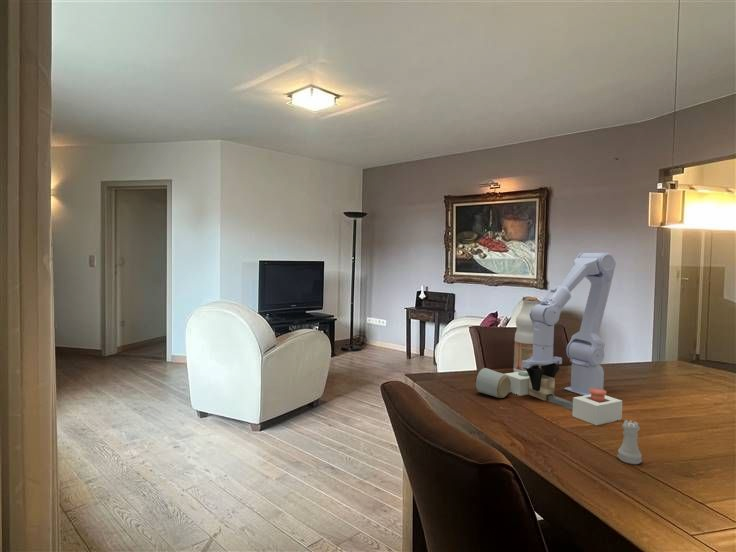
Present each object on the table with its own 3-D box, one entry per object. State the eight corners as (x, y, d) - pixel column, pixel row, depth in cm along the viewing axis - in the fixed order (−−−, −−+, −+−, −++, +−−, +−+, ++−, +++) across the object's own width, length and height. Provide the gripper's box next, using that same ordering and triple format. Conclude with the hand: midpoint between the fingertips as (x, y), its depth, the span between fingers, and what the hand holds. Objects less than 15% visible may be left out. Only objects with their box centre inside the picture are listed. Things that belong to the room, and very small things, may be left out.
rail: (534, 393, 135) (534, 388, 135) (586, 412, 119) (586, 407, 119) (530, 394, 134) (530, 389, 134) (581, 413, 118) (581, 408, 118)
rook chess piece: (612, 455, 93) (613, 418, 93) (632, 455, 93) (633, 418, 93) (626, 465, 89) (628, 426, 88) (647, 465, 89) (649, 426, 89)
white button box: (526, 385, 143) (526, 368, 143) (543, 391, 137) (543, 374, 137) (503, 389, 139) (503, 371, 139) (519, 395, 133) (520, 377, 132)
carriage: (538, 392, 135) (538, 373, 135) (554, 398, 130) (554, 378, 130) (528, 394, 133) (529, 374, 133) (544, 400, 128) (545, 379, 128)
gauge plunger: (595, 402, 118) (596, 387, 118) (609, 406, 114) (610, 391, 114) (585, 404, 116) (586, 389, 116) (599, 408, 112) (599, 393, 112)
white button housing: (597, 410, 121) (597, 393, 120) (621, 419, 114) (622, 400, 114) (572, 416, 116) (573, 397, 116) (596, 425, 110) (597, 405, 110)
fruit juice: (507, 372, 160) (510, 296, 158) (527, 370, 163) (530, 295, 162) (526, 379, 151) (529, 298, 150) (547, 376, 155) (550, 298, 154)
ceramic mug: (498, 401, 127) (499, 375, 127) (474, 394, 133) (475, 369, 133) (517, 394, 134) (518, 370, 134) (493, 388, 140) (494, 364, 140)
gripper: (549, 340, 138) (547, 383, 138) (515, 343, 131) (513, 388, 132) (568, 344, 131) (566, 389, 132) (533, 348, 125) (531, 395, 126)
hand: (541, 389), depth 131 cm, fingers closed on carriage, 4 cm apart
